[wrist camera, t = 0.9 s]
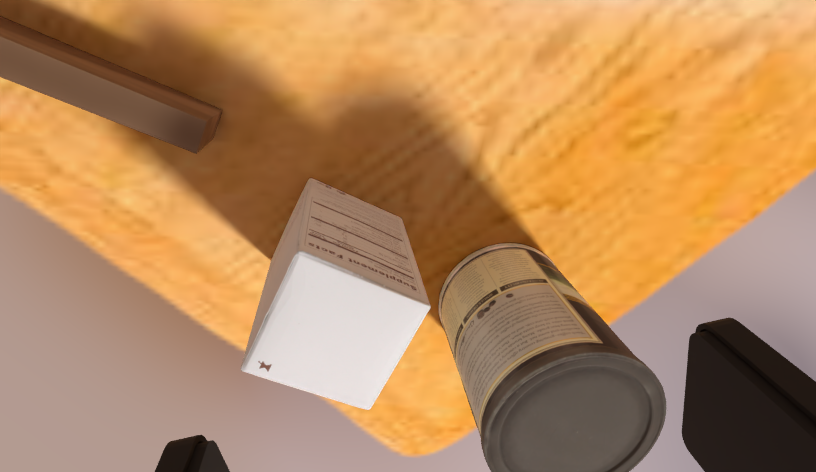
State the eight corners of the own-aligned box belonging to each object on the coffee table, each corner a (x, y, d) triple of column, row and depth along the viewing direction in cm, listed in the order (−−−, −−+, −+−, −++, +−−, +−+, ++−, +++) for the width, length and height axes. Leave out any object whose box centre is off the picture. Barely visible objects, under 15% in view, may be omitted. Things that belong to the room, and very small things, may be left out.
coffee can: (581, 254, 39) (700, 368, 26) (535, 360, 42) (620, 506, 29) (458, 229, 36) (522, 340, 24) (421, 343, 40) (459, 493, 27)
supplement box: (360, 297, 38) (368, 417, 26) (268, 260, 36) (233, 373, 24) (405, 216, 36) (436, 308, 24) (310, 172, 33) (294, 250, 22)
